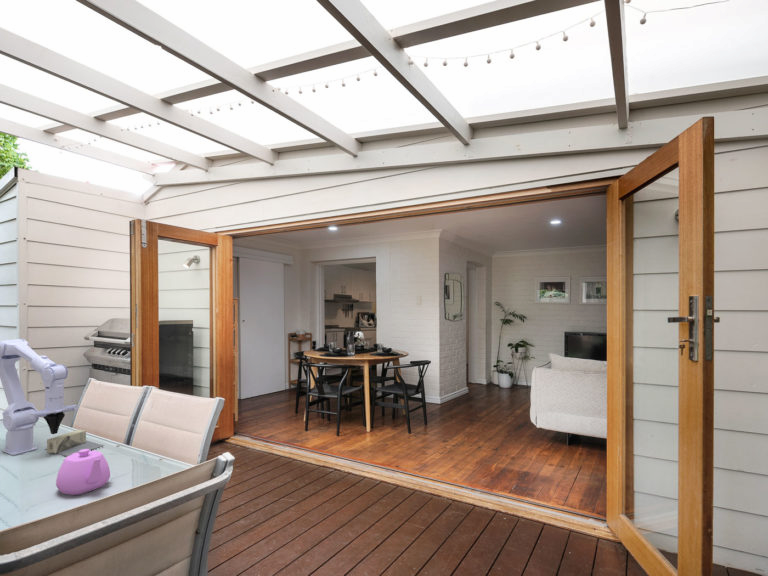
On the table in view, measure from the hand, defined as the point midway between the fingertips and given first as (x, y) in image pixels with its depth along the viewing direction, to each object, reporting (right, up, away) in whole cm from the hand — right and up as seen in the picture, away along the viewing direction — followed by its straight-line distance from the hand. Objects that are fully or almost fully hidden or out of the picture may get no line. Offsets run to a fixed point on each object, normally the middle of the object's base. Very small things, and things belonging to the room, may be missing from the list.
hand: (54, 433), depth 162 cm
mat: (+4, -8, +6) cm, 11 cm away
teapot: (+33, -7, -31) cm, 46 cm away
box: (-1, -5, -1) cm, 5 cm away
